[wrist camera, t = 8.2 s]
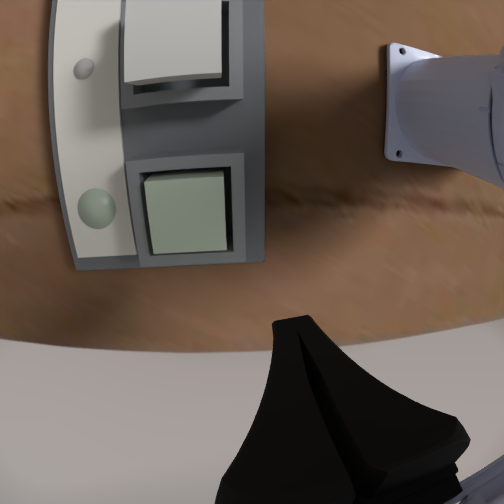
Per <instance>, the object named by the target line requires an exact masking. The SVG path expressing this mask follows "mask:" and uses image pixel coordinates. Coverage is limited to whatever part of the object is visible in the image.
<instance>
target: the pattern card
mask: <svg viewBox="0 0 504 504" xmlns="http://www.w3.org/2000/svg"><path fill="white" fill-rule="evenodd" d="M120 15H121V0H58V2H57V11H56V21H55V35H54V60H53V85H54V111H55V126H56V137H57V147H58V156H59V164H60V171H61V178H62V184H63V190H64V196H65V202H66V207H67V212H68V217H69V222H70V227H71V231H72V236H73V240H74V244H75V248H76V252H77V256H78V258H84V257H103V256H121V255H137V249H136V243H135V237H134V231H133V224H132V218H131V211H130V204H129V197H128V189H127V180H126V171H125V162H124V151H123V139H122V125H121V108H120V78H119V43H120Z"/></svg>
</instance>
